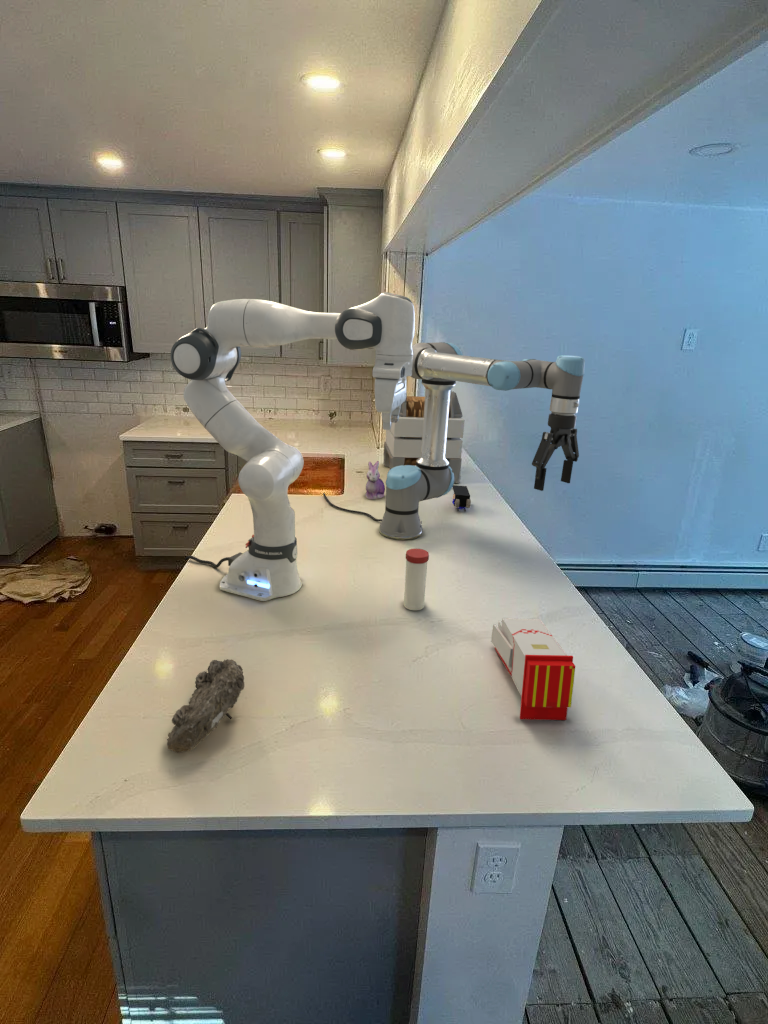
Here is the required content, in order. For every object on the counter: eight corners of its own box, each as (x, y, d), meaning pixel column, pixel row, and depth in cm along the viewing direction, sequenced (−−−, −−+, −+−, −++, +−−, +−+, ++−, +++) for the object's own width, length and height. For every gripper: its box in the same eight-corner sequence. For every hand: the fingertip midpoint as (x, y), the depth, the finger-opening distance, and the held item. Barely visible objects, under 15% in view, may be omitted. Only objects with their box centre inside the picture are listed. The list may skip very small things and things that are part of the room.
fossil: (192, 660, 117) (244, 628, 112) (224, 691, 120) (276, 661, 115) (142, 746, 98) (202, 712, 93) (182, 779, 101) (242, 748, 96)
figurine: (370, 501, 232) (371, 465, 226) (359, 493, 240) (360, 459, 235) (390, 498, 236) (392, 463, 231) (379, 491, 244) (380, 457, 239)
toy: (537, 603, 136) (584, 662, 106) (532, 655, 138) (577, 726, 109) (487, 602, 135) (520, 661, 106) (483, 654, 138) (514, 725, 109)
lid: (407, 564, 144) (408, 558, 144) (403, 554, 150) (404, 548, 149) (430, 563, 145) (431, 557, 145) (425, 553, 151) (426, 548, 150)
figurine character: (470, 516, 223) (465, 500, 237) (473, 499, 220) (467, 484, 233) (453, 516, 223) (449, 500, 236) (455, 498, 220) (451, 483, 233)
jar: (405, 610, 149) (408, 559, 144) (402, 600, 154) (405, 550, 149) (425, 610, 150) (429, 558, 145) (421, 600, 155) (425, 550, 150)
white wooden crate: (382, 463, 289) (386, 382, 275) (445, 464, 293) (451, 384, 279) (390, 482, 257) (394, 392, 243) (460, 483, 261) (468, 394, 247)
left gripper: (389, 362, 143) (386, 417, 148) (370, 370, 124) (368, 432, 129) (413, 364, 142) (410, 419, 146) (398, 372, 123) (395, 435, 128)
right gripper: (548, 419, 148) (537, 496, 155) (598, 411, 163) (586, 482, 171) (525, 414, 153) (515, 489, 160) (575, 407, 169) (564, 476, 176)
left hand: (390, 425), depth 137 cm, fingers open, 8 cm apart
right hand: (552, 485), depth 166 cm, fingers open, 13 cm apart
